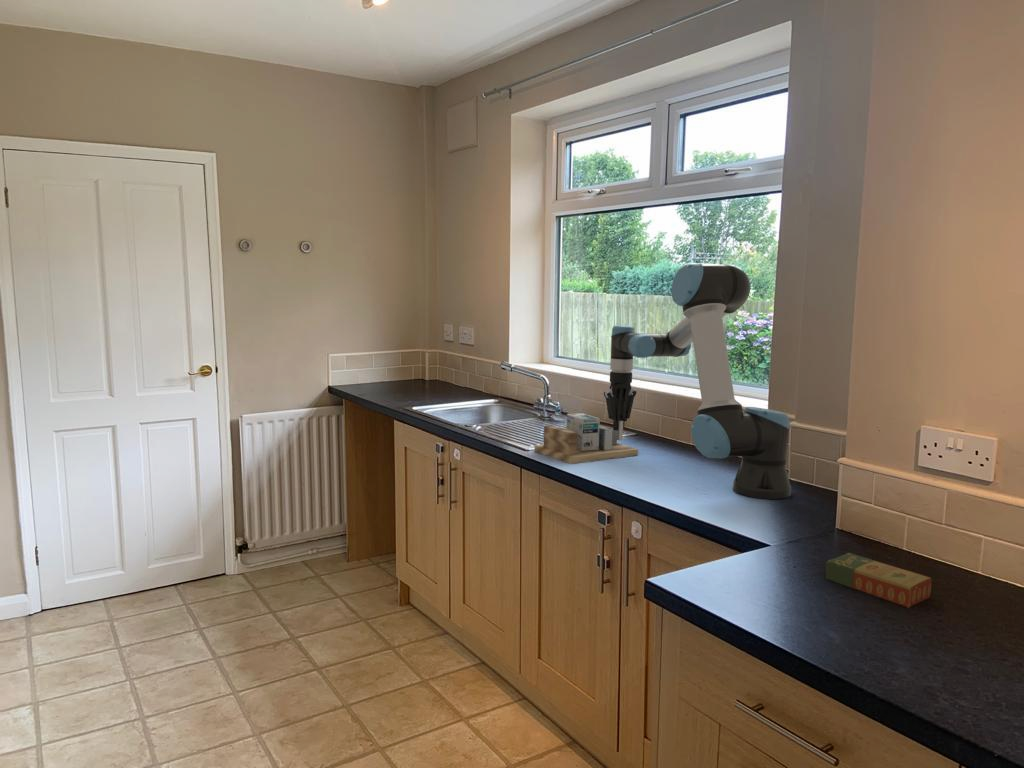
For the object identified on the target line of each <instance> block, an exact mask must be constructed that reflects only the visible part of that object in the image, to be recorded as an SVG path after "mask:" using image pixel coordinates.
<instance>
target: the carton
mask: <svg viewBox="0 0 1024 768" xmlns="http://www.w3.org/2000/svg"><path fill="white" fill-rule="evenodd" d="M825 579H826V580H829V581H831V582H835V583H837V584H839V585H840V584H841V585H843V586H845V587H849V588H852V589H855V590H858V591H859V592H863V593H865V594H869V595H871V596H874V597H877V598H880V599H884V600H886V601H889V602H891V603H895V604H897V605H901V606H903V607H905V608H911V607H912V606H915V605H917V604H920V603H921V602H923V601H925V600H927V599H930V596H931V590H932V589H931V588H932V577H930V576H927V575H925V574H921V573H917V572H914V571H911V570H907V569H904V568H899V567H897V566H894V565H890V564H887V563H884V562H881V561H877V560H874V559H871V558H867V557H865V556H861V555H858V554H854V553H851V552H847V553H845V554H842V555H839V556H837V557H835V558H832V559H829V560H827V562H826V568H825Z"/></svg>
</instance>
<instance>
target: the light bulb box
mask: <svg viewBox="0 0 1024 768" xmlns="http://www.w3.org/2000/svg"><path fill="white" fill-rule="evenodd" d="M600 424H601V418H600V417H596V416H593V415H590V414H587V413H583V412H580V413H567V414H566V428H565V429H567V430H570V431H573V432H577V449H578V450H581V451H589V450H599V427H600V426H601V425H600Z"/></svg>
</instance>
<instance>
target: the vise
mask: <svg viewBox="0 0 1024 768" xmlns="http://www.w3.org/2000/svg"><path fill="white" fill-rule="evenodd" d="M543 426H544V427H543V444H534V449H533V450H534V453H535V452H536V453H539V454H541V455H544V456H547V457H550V458H553V459H555V460H559V461H560V462H564V463H567V464H570V465H573V464H572V463H574V464H579V463H578V462H582V463H588V462H587V461H589V462H595V460H596V462H597V461H604V459H605V460H612V459H619V458H626V457H632V456H633V457H635V456H638V455H639V449H638V448H635V447H633V446H629V445H625V444H621V443H618V442H617V445H612V450H605V451H604V450H601V449H599V450H589V451H581V450H578V449H577V432H573V431H570V430H567V429H566V428H562V427H560V426H556V425H554V424H553V425H552V424H549V425H543Z"/></svg>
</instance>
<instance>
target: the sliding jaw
mask: <svg viewBox="0 0 1024 768" xmlns="http://www.w3.org/2000/svg"><path fill="white" fill-rule="evenodd" d="M617 443H618V440H617V430H615V429H613V428H611V427H607V426H604V425H600V427H599V449H601V450H604V451H605V450H612V445H617Z"/></svg>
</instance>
